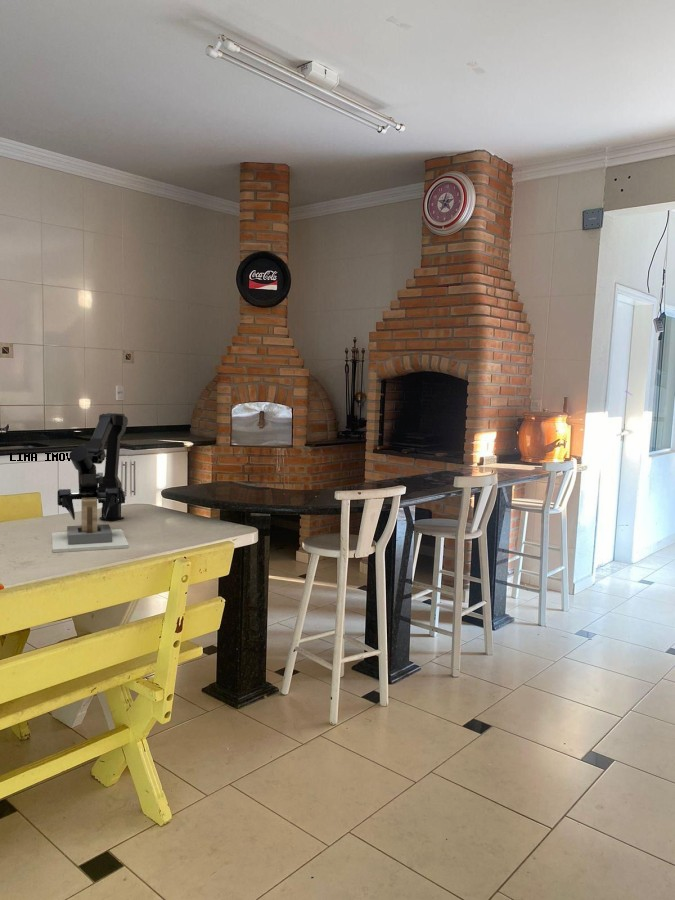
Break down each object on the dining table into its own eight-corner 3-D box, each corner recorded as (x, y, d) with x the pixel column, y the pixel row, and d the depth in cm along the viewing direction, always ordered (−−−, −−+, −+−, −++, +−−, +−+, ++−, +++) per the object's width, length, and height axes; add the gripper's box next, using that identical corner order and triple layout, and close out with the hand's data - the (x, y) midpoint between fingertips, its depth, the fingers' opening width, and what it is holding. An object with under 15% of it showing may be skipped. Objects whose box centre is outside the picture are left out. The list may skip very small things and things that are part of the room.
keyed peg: (81, 537, 221) (81, 497, 219) (96, 536, 222) (96, 497, 221) (82, 541, 216) (82, 501, 214) (97, 540, 217) (97, 500, 216)
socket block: (52, 535, 225) (52, 523, 225) (121, 532, 234) (121, 520, 233) (52, 552, 205) (52, 539, 205) (128, 547, 214) (128, 535, 213)
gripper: (57, 464, 217) (58, 505, 208) (118, 463, 224) (121, 503, 215) (57, 484, 225) (57, 525, 216) (116, 483, 232) (119, 522, 223)
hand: (89, 518), depth 217 cm, fingers open, 9 cm apart
